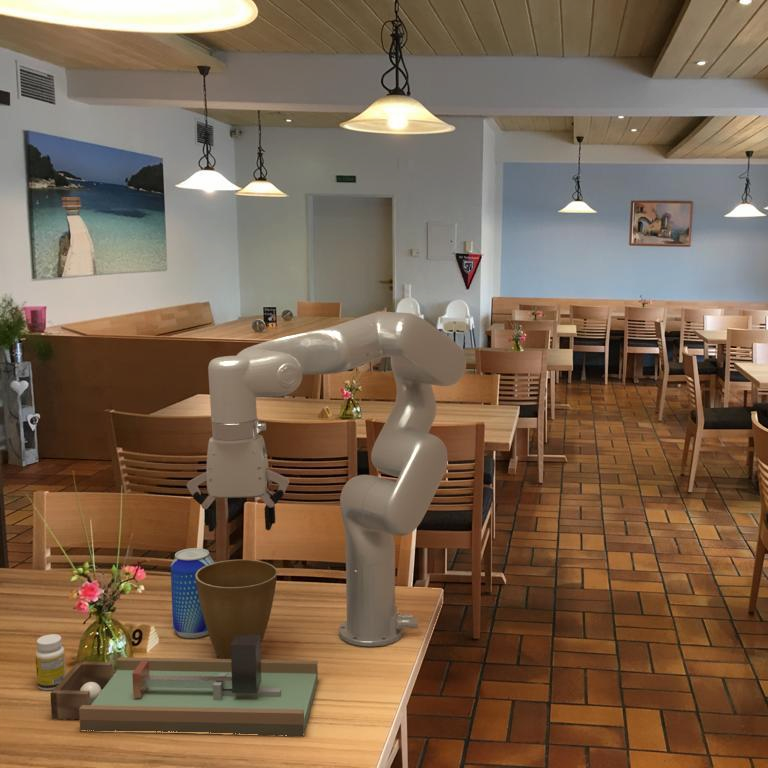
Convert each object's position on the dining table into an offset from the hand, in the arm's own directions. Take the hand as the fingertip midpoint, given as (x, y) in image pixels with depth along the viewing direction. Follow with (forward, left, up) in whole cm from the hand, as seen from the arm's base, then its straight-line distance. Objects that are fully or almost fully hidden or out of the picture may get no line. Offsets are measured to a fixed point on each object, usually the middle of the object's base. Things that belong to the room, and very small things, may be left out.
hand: (240, 528), depth 150 cm
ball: (+24, +9, -26) cm, 36 cm away
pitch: (+5, +9, -28) cm, 29 cm away
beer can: (+14, -20, -28) cm, 37 cm away
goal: (+25, +9, -28) cm, 38 cm away
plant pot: (+3, -10, -28) cm, 30 cm away
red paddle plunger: (+6, +9, -25) cm, 27 cm away
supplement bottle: (+33, +3, -28) cm, 43 cm away
